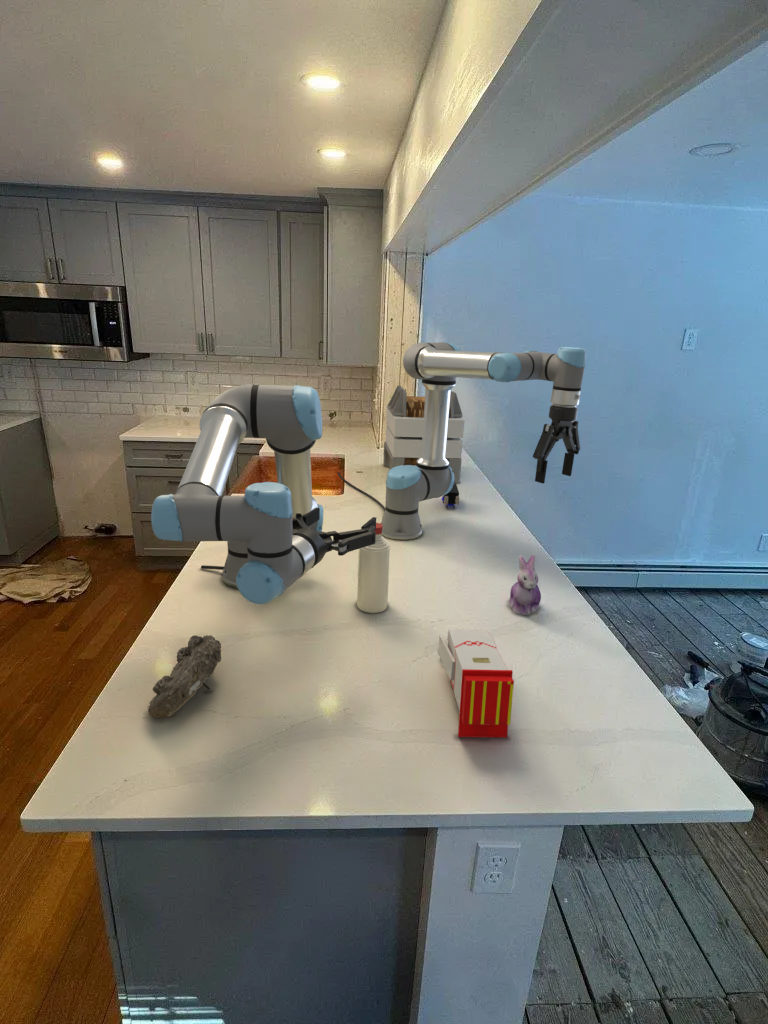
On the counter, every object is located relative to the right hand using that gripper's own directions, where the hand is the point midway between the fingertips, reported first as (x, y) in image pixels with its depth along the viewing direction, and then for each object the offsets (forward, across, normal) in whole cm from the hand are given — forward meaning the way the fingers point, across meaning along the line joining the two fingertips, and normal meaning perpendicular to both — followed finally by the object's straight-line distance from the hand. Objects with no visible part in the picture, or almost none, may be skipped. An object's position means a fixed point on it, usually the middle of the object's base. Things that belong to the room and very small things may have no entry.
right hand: (553, 478), depth 165 cm
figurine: (+30, -22, -11) cm, 39 cm away
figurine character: (+30, +24, +60) cm, 71 cm away
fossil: (+30, -106, +10) cm, 111 cm away
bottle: (+30, -55, +15) cm, 64 cm away
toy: (+30, -62, -26) cm, 73 cm away
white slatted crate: (+30, +46, +101) cm, 115 cm away
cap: (+8, -55, +15) cm, 57 cm away
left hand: (-1, -71, +6) cm, 71 cm away
